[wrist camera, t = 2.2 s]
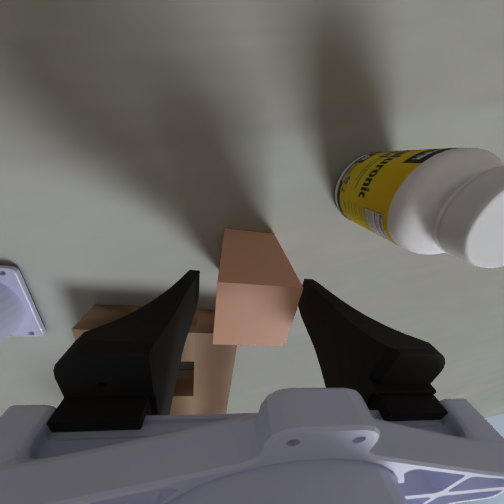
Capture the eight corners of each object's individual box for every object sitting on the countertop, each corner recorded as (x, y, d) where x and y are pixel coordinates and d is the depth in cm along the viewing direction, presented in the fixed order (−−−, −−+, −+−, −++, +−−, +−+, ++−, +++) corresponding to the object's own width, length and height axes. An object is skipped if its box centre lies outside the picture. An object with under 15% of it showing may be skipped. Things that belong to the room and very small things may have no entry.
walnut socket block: (117, 389, 25) (103, 417, 22) (95, 304, 19) (71, 329, 16) (226, 388, 27) (225, 413, 24) (237, 311, 21) (238, 334, 18)
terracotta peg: (220, 271, 18) (212, 344, 11) (224, 228, 16) (217, 282, 9) (265, 275, 19) (285, 346, 12) (273, 233, 17) (303, 287, 10)
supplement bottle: (382, 135, 14) (617, 98, 6) (404, 193, 16) (600, 232, 8) (320, 183, 15) (434, 215, 7) (348, 231, 18) (463, 303, 9)
